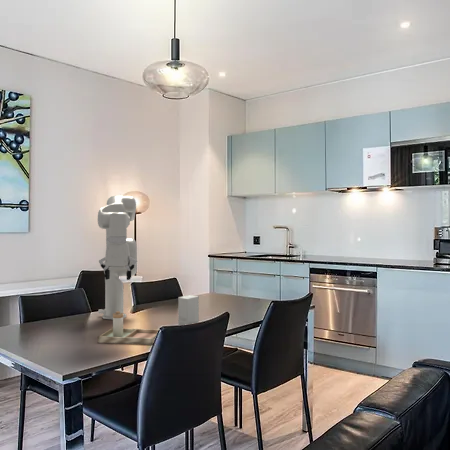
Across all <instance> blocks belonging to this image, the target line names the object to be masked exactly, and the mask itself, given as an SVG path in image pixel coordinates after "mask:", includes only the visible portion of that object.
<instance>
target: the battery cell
mask: <svg viewBox="0 0 450 450" xmlns="http://www.w3.org/2000/svg"><path fill="white" fill-rule="evenodd" d="M112 328H113V337H122V336H123V328H124V318H123V313H121V312H120V311H117V312H116V313H113V320H112Z"/></svg>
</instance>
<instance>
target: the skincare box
mask: <svg viewBox="0 0 450 450" xmlns="http://www.w3.org/2000/svg"><path fill="white" fill-rule="evenodd" d="M177 299H178V300H177V302H178V304H177V306H178V308H177V309H178V311H177V312H178V313H177V314H178V317H177V318H178V319H177V320H178V325H185V324H192V323H198V322H200V321H199V312H200V311H199V309H200V308H199V304H200V303H199V302H200V301H199V300H200V299H199V295H193V294H188V295H183V296H178V298H177ZM178 325H177V326H178Z"/></svg>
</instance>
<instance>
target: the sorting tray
mask: <svg viewBox="0 0 450 450" xmlns="http://www.w3.org/2000/svg"><path fill="white" fill-rule="evenodd" d="M158 330H159V329H151V328H150V329H149V328H148V329H147V328H146V329H145V328H124V327H123V336H122V337H113V327H111V328H109V329H108V330H107V331H105V332H103V333H102V334H100V335H98V336H97V343H98V344H124V345H125V344H127V345H147V346H148V345H151V346H153V345H154V344H153V342H154V339H155V337H156V334H157V332H158ZM152 344H153V345H152Z"/></svg>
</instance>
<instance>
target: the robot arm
mask: <svg viewBox="0 0 450 450" xmlns="http://www.w3.org/2000/svg"><path fill="white" fill-rule="evenodd" d="M136 211H137V202H136V199H135V197H133V196H132V195H113V196H110V197H109V198H108V199H107V200H106V205H105V206H103V207H100V209H99V210H98V212H97V226H98V227H99V228H100V229H102V230H103V229H104V230H105V237H106V238H105V243H106V246H105V247H106V248H105V256H104V257H103V258H101V259H99V260H98V263H99V265H100V267H101V268H102V270H103V273H104V283H105V284H104V286H105V287H104V288H105V289H104V291H105V295H104V298H105V299H104V300H105V301H104V302H105V304H104V305H105V306H104V307H105V308H104V309H102V308H101V309H98V314H103V315H101V317H102V319H104V320H111V321H113V313H116V312H117V311H120V312H121V313H123V319H125V318H127V314H126V313H125V312H124V283H123V281H122V280H121V279H120V278H119V277H126V281H130V280H131V278H132V277H133V276H135V275H136V274H137V270H138V252H137V251H138V250H137V249H138V248H137V242H136V240H135V238H133V237H128V236H127V235H128V234H127V232H128V230H127V228H128V227H129V226H130V224H131V222H133V221H134V220H135V218H136Z"/></svg>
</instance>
